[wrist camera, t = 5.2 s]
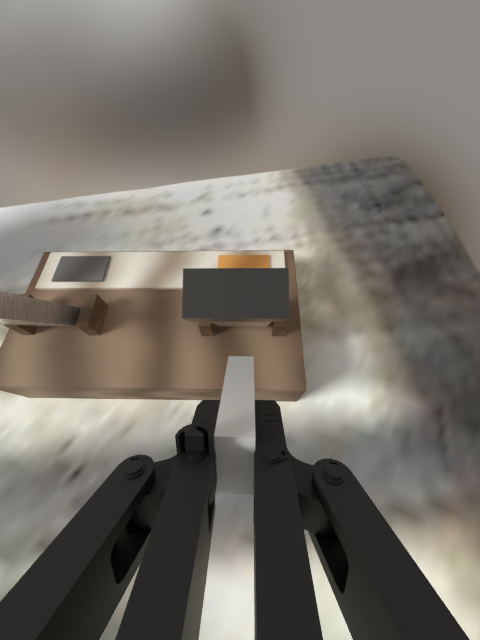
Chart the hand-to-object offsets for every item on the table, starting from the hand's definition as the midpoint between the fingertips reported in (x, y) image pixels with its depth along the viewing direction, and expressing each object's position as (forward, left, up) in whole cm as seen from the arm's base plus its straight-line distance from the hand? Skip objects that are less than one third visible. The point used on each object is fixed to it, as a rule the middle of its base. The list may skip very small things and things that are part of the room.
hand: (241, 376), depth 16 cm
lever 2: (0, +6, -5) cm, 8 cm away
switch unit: (-8, +7, -10) cm, 15 cm away
